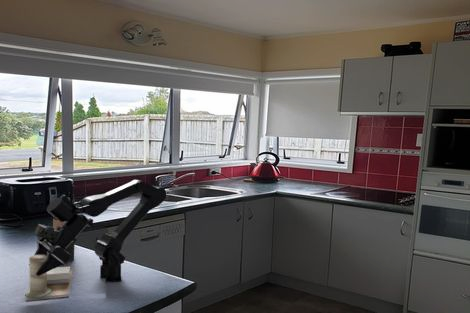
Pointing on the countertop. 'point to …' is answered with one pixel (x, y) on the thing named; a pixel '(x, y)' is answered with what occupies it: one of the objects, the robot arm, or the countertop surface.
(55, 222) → the travel mug
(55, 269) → the slab
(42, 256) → the roller
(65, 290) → the wooden board
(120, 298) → the countertop surface
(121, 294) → the countertop surface
